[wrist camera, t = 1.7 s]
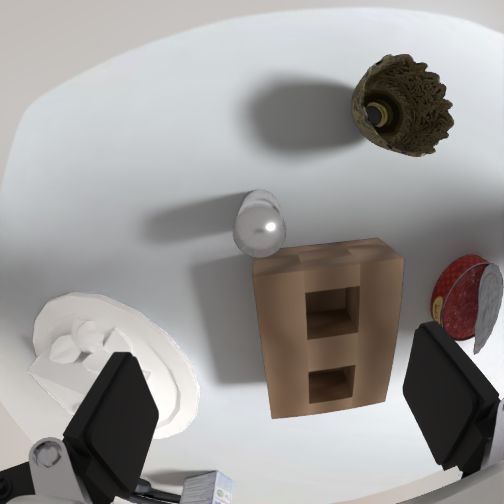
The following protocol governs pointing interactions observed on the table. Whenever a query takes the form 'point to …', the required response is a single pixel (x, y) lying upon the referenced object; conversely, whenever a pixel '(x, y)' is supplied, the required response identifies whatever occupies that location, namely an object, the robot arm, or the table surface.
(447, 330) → the canned food
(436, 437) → the robot arm
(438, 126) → the cup
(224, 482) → the medicine box
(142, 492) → the can opener
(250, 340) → the table surface
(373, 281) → the hole block
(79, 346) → the dish
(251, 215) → the pin
